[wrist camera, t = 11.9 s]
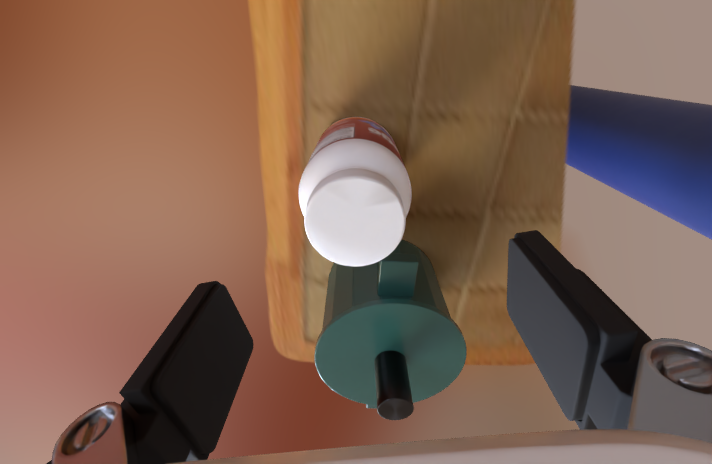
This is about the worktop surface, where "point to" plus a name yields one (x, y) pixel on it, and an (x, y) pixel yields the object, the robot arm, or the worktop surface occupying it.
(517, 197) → the worktop surface
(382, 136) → the pill bottle
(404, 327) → the pot lid
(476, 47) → the worktop surface
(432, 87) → the worktop surface
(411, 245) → the pot
